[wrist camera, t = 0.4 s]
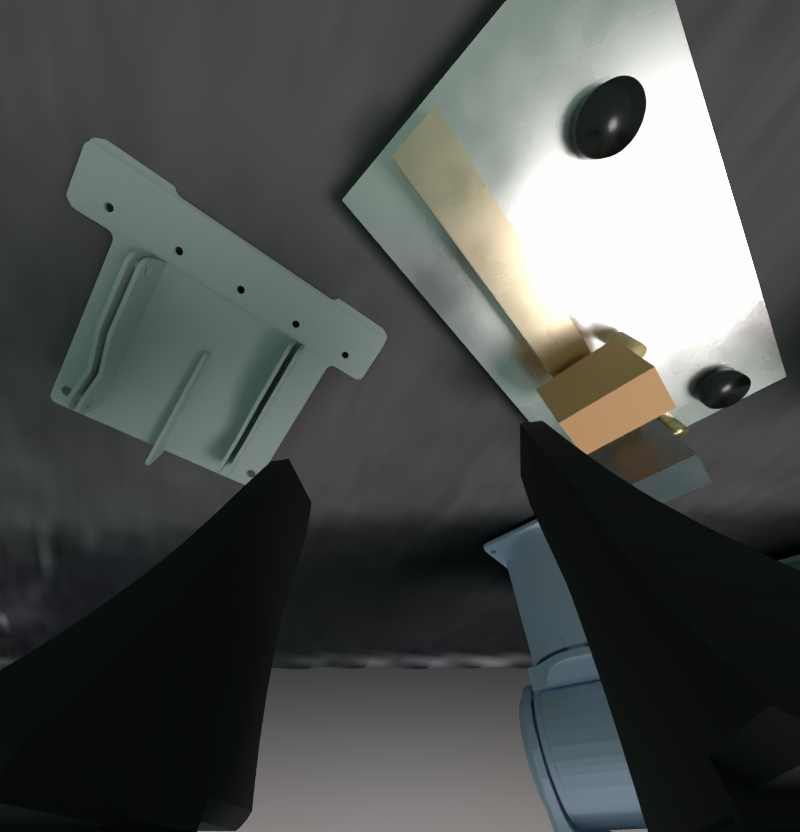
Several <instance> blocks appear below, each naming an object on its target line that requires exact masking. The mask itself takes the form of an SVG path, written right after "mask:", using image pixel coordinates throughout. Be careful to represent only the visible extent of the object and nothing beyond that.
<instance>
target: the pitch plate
mask: <svg viewBox="0 0 800 832" xmlns="http://www.w3.org/2000/svg"><path fill="white" fill-rule="evenodd" d="M342 201H343V202H344V203H345V204H346V206H347V207H348V208H349V209H350V210H351V211H352V213H353V214H354V215H355V216H356V217H357V219H358V220H359V221H360V222H361V223H362V224H363V226H364V227H365V228H366V229H367V230H368V232H369V233H370V234H371V235H372V236H373V237H374V239H375V240H376V241H377V242H378V243H379V245H380V246H381V247H382V248H383V249H384V250H385V252H386V253H387V254H388V255H389V256H390V258H391V259H392V260H393V261H394V262H395V263H396V265H397V266H398V267H399V268H400V269H401V271H402V272H403V273H404V274H405V275H406V276H407V278H408V279H409V280H410V281H411V282H412V284H413V285H414V286H415V287H416V288H417V289H418V291H419V292H420V293H421V294H422V295H423V297H424V298H425V299H426V300H427V301H428V302H429V304H430V305H431V306H432V307H433V308H434V310H435V311H436V312H437V313H438V314H439V315H440V317H441V318H442V319H443V320H444V321H445V323H446V324H447V325H448V326H449V327H450V328H451V330H452V331H453V332H454V333H455V334H456V336H457V337H458V338H459V339H460V340H461V341H462V343H463V344H464V345H465V346H466V347H467V349H468V350H469V351H470V352H471V353H472V354H473V356H474V357H475V358H476V359H477V360H478V362H479V363H480V364H481V365H482V366H483V367H484V369H485V370H486V371H487V372H488V373H489V375H490V376H491V377H492V378H493V379H494V380H495V382H496V383H497V384H498V385H499V386H500V388H501V389H502V390H503V391H504V392H505V393H506V395H507V396H508V397H509V398H510V399H511V401H512V402H513V403H514V404H515V405H516V406H517V408H518V409H519V410H520V411H521V412H522V414H523V415H524V416H525V417H526V418H527V419H528V421H529V422H535V421H541V420H542V421H544V422H545V423H546V424H548V425H549V426H550V427H551V428H553V429H554V430H555V431H557V432H558V433H559V434H561V435H562V436H563V437H564V438H566V439H567V440H568V441H570V442H571V443H572V444H574V442H573V441H572V440H571V439H570V437H569V436H568V435H567V433H566V432H565V431H564V430H563V428H562V427H561V426H560V425H559V423H558V422H557V420H556V419H555V417H554V416H553V414H552V413H551V411H550V410H549V408H548V407H547V405H546V404H545V402H544V401H543V399H542V398H541V396H540V395H539V393H538V392H537V390H536V389H537V388H538V387H540V386H541V385H543V384H544V383H546V382H547V381H549V380H551V379H552V378H554V377H555V376H557V375H558V374H560V373H561V372H563V371H564V370H566V369H567V368H569V367H570V366H572V365H574V364H575V363H577V362H578V361H580V360H581V359H583V358H584V357H586V356H587V355H589V354H590V353H592V352H594V351H595V350H597V349H598V348H600V347H601V346H603V345H604V344H606V343H607V342H609V339H610V338H611V336H612V335H613V334H615V333H617V332H625V333H626V334H628V335H630V336H631V337H633V338H634V339H636V340H638V341H639V342H641V343H642V344H644V345H645V346H646V347H647V352H646V354H645V356H644V357H643V359H644V360H646V361H647V362H649V363H650V364H651V365H653V366H654V367H655V368H656V370H657V372H658V374H659V376H660V378H661V380H662V382H663V383H664V385H665V387H666V389H667V391H668V393H669V395H670V397H671V398H672V400H673V402H674V404H675V406H676V408H674V409H672V410H670V411H669V412H667V413H665V414H663V415H661V416H659V417H657V418H655V419H653V420H651V421H650V422H648V423H646V424H644V425H642V426H640V427H638V428H636V429H634V430H633V431H631V432H629V433H627V434H625V435H623V436H621V437H619V438H617V439H616V440H614V441H612V442H610V443H608V444H606V445H604V446H602V447H600V448H599V449H597V450H595V451H593V452H591V453H589V454H587V455H588V456H590V457H591V458H593V459H594V460H595V461H597V462H598V463H600V464H601V465H602V466H604V467H605V468H607V469H608V470H610V471H611V472H613V473H614V474H616V475H617V476H619V477H620V478H622V479H623V480H625V481H627V482H628V483H630V484H631V485H633V486H634V487H636V488H638V489H639V490H641V491H642V492H644V493H646V494H647V495H649V496H651V497H652V498H654V499H656V500H658V501H659V502H661V503H665V502H667V501H669V500H672V499H674V498H676V497H679V496H681V495H683V494H686V493H688V492H690V491H693V490H695V489H697V488H700V487H702V486H704V485H707V484H709V483H712V481H711V479H710V477H709V475H708V474H707V472H706V470H705V468H704V466H703V464H702V462H701V461H700V459H699V457H698V455H697V454H696V453H695V452H694V451H693V450H692V449H691V448H689V447H688V446H687V445H686V444H685V443H684V442H683V441H682V440H680V439H681V438H683V437H685V436H686V435H687V434H688V431H689V429H688V428H687V426H689V425H691V424H693V423H695V422H697V421H699V420H701V419H703V418H705V417H707V416H709V415H711V414H713V413H715V412H717V411H719V410H721V409H723V408H726V407H729V406H731V405H733V404H735V403H736V402H738V401H739V400H741V399H743V398H745V397H747V396H749V395H751V394H753V393H755V392H757V391H759V390H761V389H763V388H765V387H767V386H769V385H771V384H773V383H775V382H777V381H779V380H781V379H783V378H785V377H786V373H785V370H784V367H783V363H782V360H781V357H780V353H779V350H778V346H777V343H776V340H775V336H774V333H773V330H772V326H771V323H770V320H769V316H768V313H767V309H766V306H765V303H764V299H763V296H762V293H761V289H760V286H759V283H758V279H757V276H756V272H755V269H754V266H753V262H752V259H751V256H750V252H749V249H748V246H747V242H746V239H745V235H744V232H743V229H742V225H741V222H740V219H739V215H738V212H737V208H736V205H735V202H734V198H733V195H732V192H731V188H730V185H729V182H728V178H727V175H726V171H725V168H724V165H723V161H722V158H721V155H720V151H719V148H718V145H717V141H716V138H715V134H714V131H713V128H712V124H711V121H710V118H709V114H708V111H707V108H706V104H705V101H704V97H703V94H702V91H701V87H700V84H699V81H698V77H697V74H696V70H695V67H694V64H693V60H692V57H691V54H690V50H689V47H688V44H687V40H686V37H685V33H684V30H683V27H682V23H681V20H680V17H679V13H678V10H677V7H676V3H675V0H506V1H505V2H504V3H503V5H502V6H501V7H500V8H499V9H498V11H497V12H496V13H495V14H494V16H493V17H492V18H491V19H490V20H489V22H488V23H487V24H486V25H485V27H484V28H483V29H482V30H481V31H480V33H479V34H478V35H477V36H476V37H475V39H474V40H473V41H472V42H471V44H470V45H469V46H468V47H467V48H466V50H465V51H464V52H463V53H462V55H461V56H460V57H459V58H458V59H457V61H456V62H455V63H454V64H453V65H452V67H451V68H450V69H449V70H448V72H447V73H446V74H445V75H444V76H443V78H442V79H441V80H440V81H439V83H438V84H437V85H436V86H435V87H434V89H433V90H432V91H431V92H430V93H429V95H428V96H427V97H426V98H425V100H424V101H423V102H422V103H421V104H420V106H419V107H418V108H417V109H416V110H415V112H414V113H413V114H412V115H411V117H410V118H409V119H408V120H407V121H406V123H405V124H404V125H403V126H402V128H401V129H400V130H399V131H398V132H397V134H396V135H395V136H394V137H393V138H392V140H391V141H390V142H389V143H388V145H387V146H386V147H385V148H384V149H383V151H382V152H381V153H380V154H379V156H378V157H377V158H376V159H375V160H374V162H373V163H372V164H371V165H370V166H369V168H368V169H367V170H366V171H365V173H364V174H363V175H362V176H361V177H360V179H359V180H358V181H357V182H356V184H355V185H354V186H353V187H352V188H351V190H350V191H349V192H348V193H347V194H346V196H345V197H344V198H343V199H342ZM574 445H575V444H574ZM575 446H576V445H575ZM576 447H577V446H576Z"/></svg>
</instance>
